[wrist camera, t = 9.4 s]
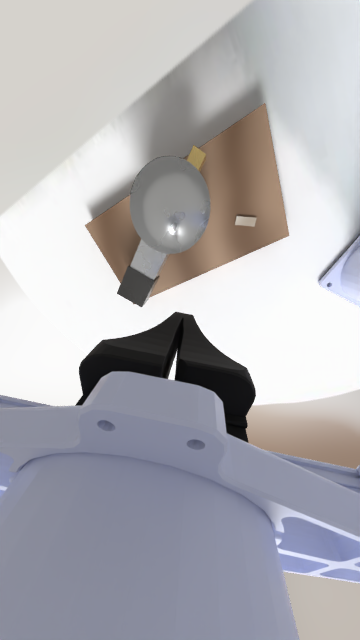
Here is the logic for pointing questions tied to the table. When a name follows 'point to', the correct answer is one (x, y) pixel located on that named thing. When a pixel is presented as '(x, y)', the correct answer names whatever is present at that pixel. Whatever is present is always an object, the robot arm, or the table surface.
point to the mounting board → (213, 207)
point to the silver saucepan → (164, 218)
